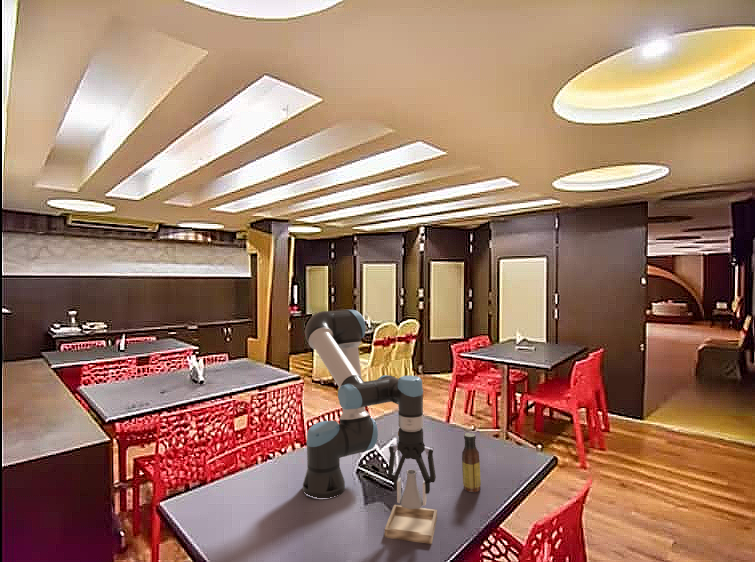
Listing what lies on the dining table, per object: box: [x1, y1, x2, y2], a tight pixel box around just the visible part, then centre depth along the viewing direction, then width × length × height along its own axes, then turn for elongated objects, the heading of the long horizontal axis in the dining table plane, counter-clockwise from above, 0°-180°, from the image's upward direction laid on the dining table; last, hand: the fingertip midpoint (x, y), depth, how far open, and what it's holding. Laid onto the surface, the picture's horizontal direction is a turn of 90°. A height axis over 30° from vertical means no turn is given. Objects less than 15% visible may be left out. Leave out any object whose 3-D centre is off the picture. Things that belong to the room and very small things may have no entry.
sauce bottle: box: [461, 432, 482, 493], centre depth 157 cm, size 6×6×20 cm
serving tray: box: [383, 504, 438, 545], centre depth 135 cm, size 14×14×2 cm
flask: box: [399, 469, 423, 509], centre depth 134 cm, size 7×7×10 cm
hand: (411, 501), depth 134 cm, fingers closed on flask, 7 cm apart
